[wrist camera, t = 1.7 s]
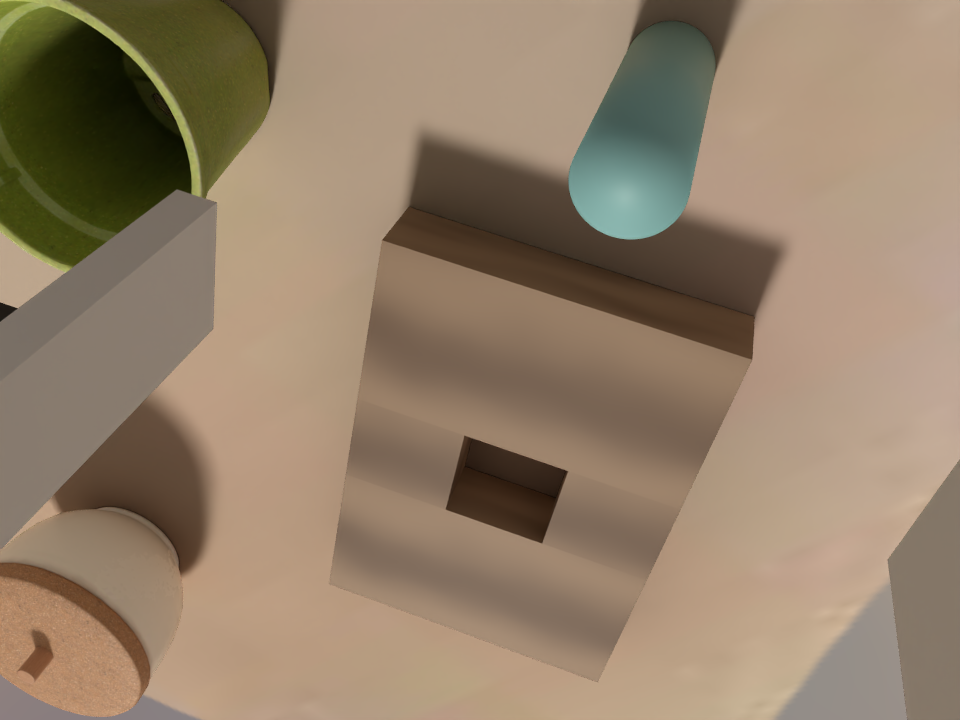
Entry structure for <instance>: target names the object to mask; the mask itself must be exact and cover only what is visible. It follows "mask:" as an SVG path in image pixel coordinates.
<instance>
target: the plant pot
mask: <svg viewBox="0 0 960 720" xmlns="http://www.w3.org/2000/svg"><path fill="white" fill-rule="evenodd" d="M153 93H158V95H159V96H160V97H161V99H162V100H163V101H164V102H165V104H166V105H167V106H168V107H169V109H170V110H171V112H172V114H173V116H174V118H175V119H173V118H172V117H170V116H168V115H167V114H166V113H165V112H164V111H163V110H162V109H160V107H159V106H158V104H157V103H156V102H155V100H154V97H153ZM269 105H270V96H269V82H268V64H267V60H266V57H265V54H264V52H263V49H262V47H261V45H260V43H259V41H258V39H257V38H256V36H255V34H254V33H253V31H252V30H251V28H250V27H249V26H248V25H247V23H246V22H245V21H244V20H243V19H242V18H241V17H240V16H239V15H238V14H237V13H236V12H235V11H234V10H233V9H231V8H230V7H229V6H228V5H226V4H225V3H224V2H222V1H220V0H0V232H1V233H3V234H4V235H5V236H6V237H7V238H8V239H10V240H11V241H12V242H14V243H15V244H16V245H17V246H18V247H20V248H21V249H23V250H24V251H26V252H27V253H29V254H30V255H32V256H33V257H35V258H38V259H40V260H41V261H43V262H45V263H47V264H49V265H51V266H52V267H54V268H56V269H58V270H61V271H63V272H67V271H69V270H70V269H71V268H73V267H74V266H75V265H77V264H78V263H79V262H81V261H82V260H83V259H85V258H86V257H87V256H89V255H90V254H91V253H93V252H94V251H95V250H97V249H98V248H99V247H101V246H102V245H103V244H105V243H106V242H107V241H109V240H110V239H111V238H113V237H114V236H115V235H117V234H118V233H119V232H121V231H122V230H123V229H125V228H126V227H127V226H129V225H130V224H131V223H133V222H134V221H135V220H137V219H138V218H139V217H141V216H142V215H143V214H145V213H146V212H147V211H149V210H150V209H151V208H153V207H154V206H155V205H157V204H158V203H159V202H161V201H162V200H163V199H165V198H166V197H167V196H169V195H170V194H171V193H173V192H174V191H176V190H180V191H183V192H186V193H189V194H192V195H195V196H198V197H202V198H206V196H207V193H208V191H209V189H210V188H211V187H212V186H213V184H214V183H215V182H216V181H217V179H218V178H219V177H220V176H221V174H222V173H223V172H224V171H225V169H226V168H227V167H228V166H229V164H230V163H231V162H232V161H233V159H234V158H235V157H236V156H237V155H238V153H239V152H240V151H241V150H242V149H243V148H244V146H245V145H246V144H247V143H248V142H249V140H250V139H251V138H252V136H253V135H254V134H255V133H256V132H257V130H258V129H259V128H260V126H261V125H262V123H263V121H264V119H265V117H266V115H267V112H268V109H269Z"/></svg>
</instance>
